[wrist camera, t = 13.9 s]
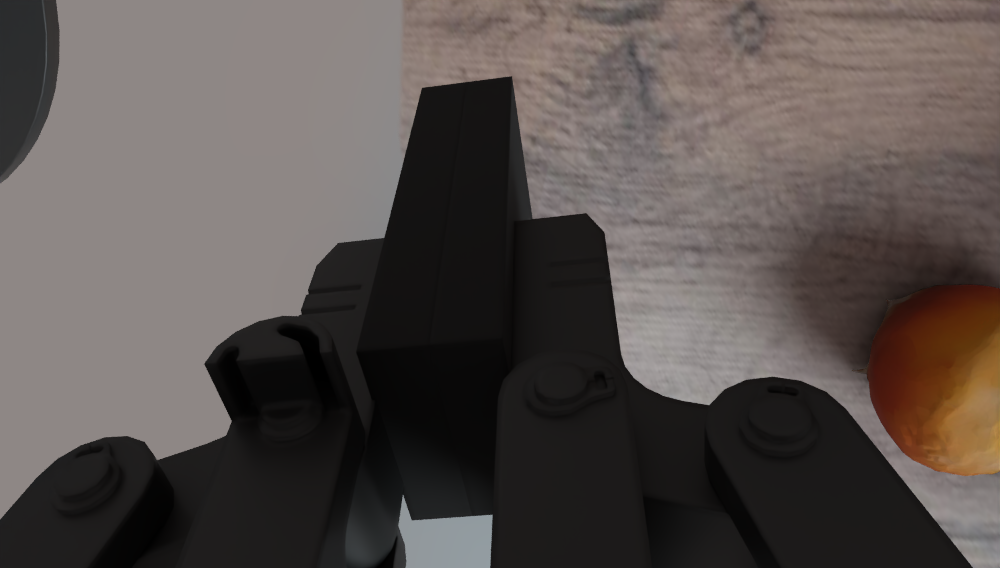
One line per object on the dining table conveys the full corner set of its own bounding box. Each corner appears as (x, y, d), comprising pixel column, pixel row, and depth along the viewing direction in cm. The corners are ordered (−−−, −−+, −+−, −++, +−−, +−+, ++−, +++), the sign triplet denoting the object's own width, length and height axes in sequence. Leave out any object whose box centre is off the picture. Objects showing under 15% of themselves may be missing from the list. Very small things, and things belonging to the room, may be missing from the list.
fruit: (834, 260, 36) (1001, 337, 29) (960, 246, 39) (1138, 314, 32) (797, 420, 39) (940, 524, 32) (917, 395, 42) (1071, 485, 35)
